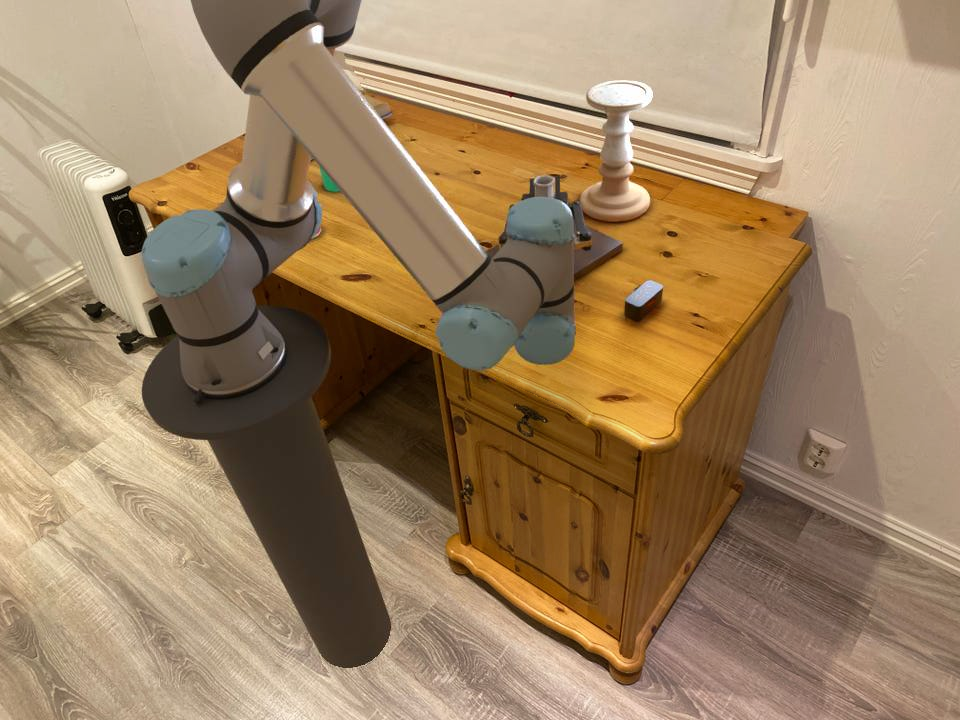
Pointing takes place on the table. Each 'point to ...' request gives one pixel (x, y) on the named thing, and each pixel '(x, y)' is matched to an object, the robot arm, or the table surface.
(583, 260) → the walnut board
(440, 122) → the table surface
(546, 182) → the flask
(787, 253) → the table surface
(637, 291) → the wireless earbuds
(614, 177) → the candle holder
